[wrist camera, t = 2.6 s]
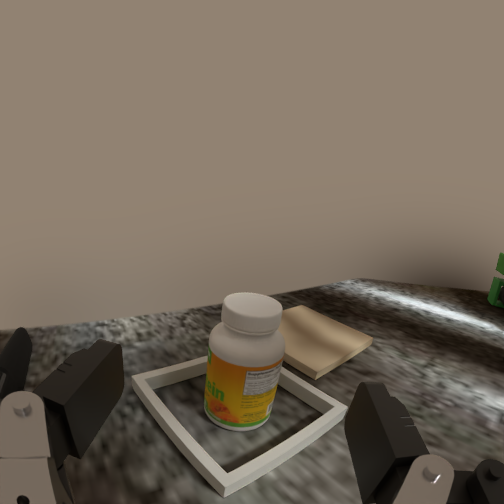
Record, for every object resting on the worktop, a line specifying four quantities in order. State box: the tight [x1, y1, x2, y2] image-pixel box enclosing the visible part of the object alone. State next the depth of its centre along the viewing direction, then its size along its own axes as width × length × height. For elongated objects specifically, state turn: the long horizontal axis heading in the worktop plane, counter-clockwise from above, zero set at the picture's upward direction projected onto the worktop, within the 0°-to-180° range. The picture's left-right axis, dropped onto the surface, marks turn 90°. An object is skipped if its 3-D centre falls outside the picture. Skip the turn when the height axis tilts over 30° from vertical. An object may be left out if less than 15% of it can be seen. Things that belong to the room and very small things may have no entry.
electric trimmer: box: [0, 327, 32, 399], centre depth 17 cm, size 4×16×3 cm, turn 19°
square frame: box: [132, 356, 348, 498], centre depth 23 cm, size 13×13×1 cm
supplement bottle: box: [204, 292, 285, 431], centre depth 22 cm, size 5×5×10 cm
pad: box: [277, 305, 373, 380], centre depth 36 cm, size 12×12×1 cm
